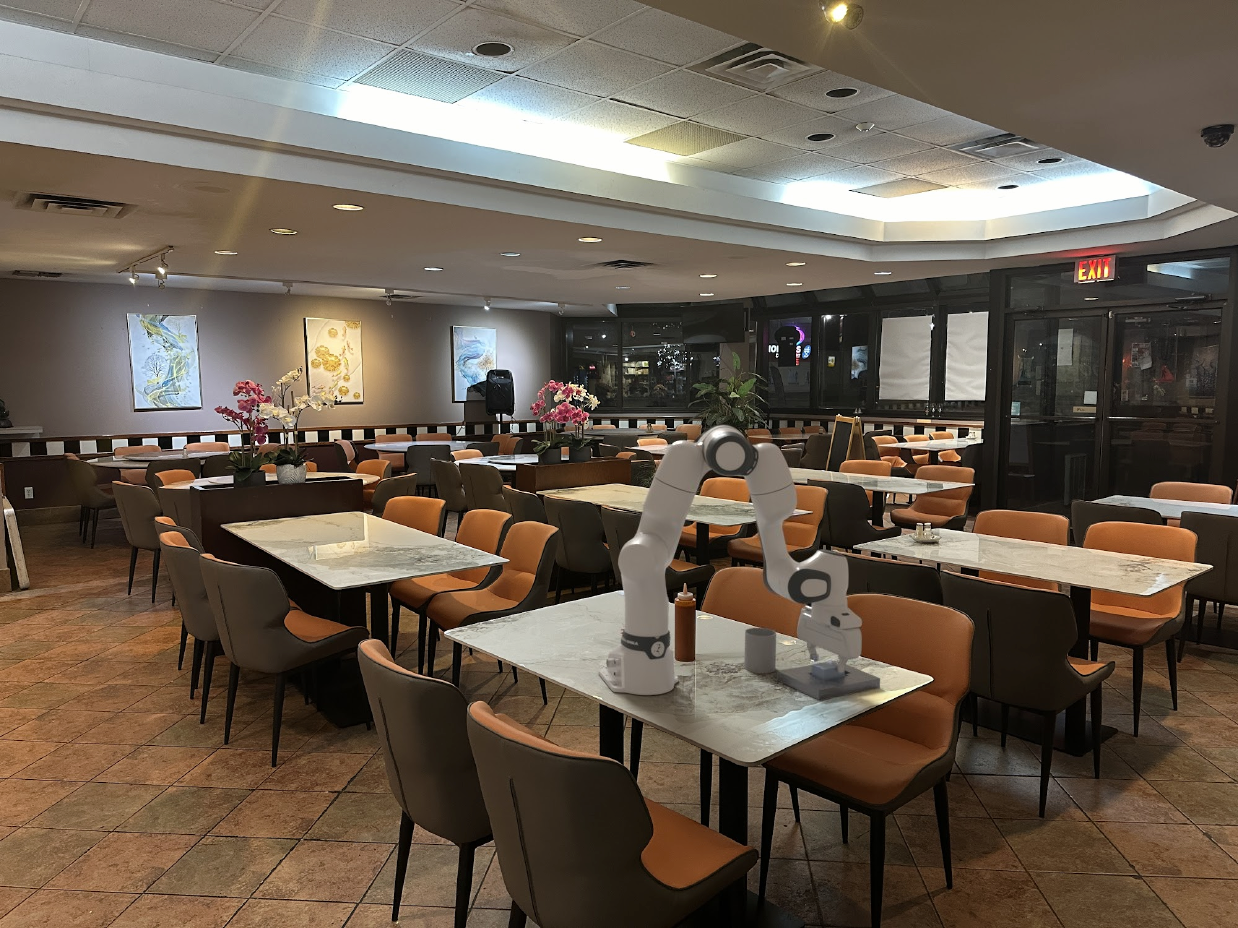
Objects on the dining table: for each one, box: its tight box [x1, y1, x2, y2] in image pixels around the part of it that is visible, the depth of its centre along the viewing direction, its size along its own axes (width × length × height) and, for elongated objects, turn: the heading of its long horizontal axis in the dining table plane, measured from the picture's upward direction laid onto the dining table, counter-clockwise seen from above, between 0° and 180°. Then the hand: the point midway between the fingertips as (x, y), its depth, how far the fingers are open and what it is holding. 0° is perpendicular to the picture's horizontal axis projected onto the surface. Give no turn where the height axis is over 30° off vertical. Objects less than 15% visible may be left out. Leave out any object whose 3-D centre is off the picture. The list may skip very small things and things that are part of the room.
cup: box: [743, 627, 777, 674], centre depth 220 cm, size 8×8×10 cm
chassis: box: [776, 660, 881, 701], centre depth 208 cm, size 16×20×2 cm
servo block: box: [811, 658, 845, 681], centre depth 208 cm, size 4×8×6 cm, turn 118°
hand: (826, 665), depth 208 cm, fingers open, 8 cm apart
